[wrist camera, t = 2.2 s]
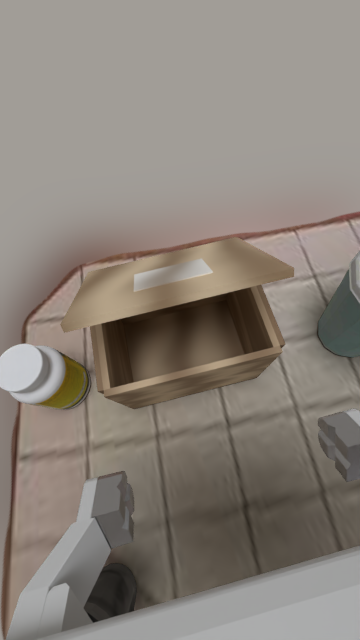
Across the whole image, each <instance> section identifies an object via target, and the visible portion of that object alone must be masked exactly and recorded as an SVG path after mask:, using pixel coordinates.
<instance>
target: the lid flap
mask: <svg viewBox="0 0 360 640" xmlns="http://www.w3.org/2000/svg"><path fill="white" fill-rule="evenodd" d="M290 277H294V268H293V267H291V266H289V265H288V264H286V263H284V262H282V261H280V260H278V259H276V258H275V257H273V256H271V255H269V254H267V253H265V252H263V251H262V250H260V249H258V248H256V247H254V246H252V245H251V244H249V243H247V242H245V241H243V240H241V239H239V238H238V237H234V238H230V239H226V240H222V241H217V242H213V243H209V244H205V245H201V246H196V247H192V248H188V249H184V250H180V251H175V252H171V253H167V254H163V255H158V256H154V257H150V258H146V259H142V260H137V261H133V262H129V263H125V264H121V265H116V266H112V267H108V268H104V269H99V270H95V271H91V272H88V274H87V276H86V278H85V280H84V282H83V284H82V285H81V287H80V289H79V291H78V293H77V295H76V297H75V298H74V300H73V302H72V304H71V306H70V308H69V310H68V312H67V313H66V315H65V317H64V319H63V321H62V323H61V327H62V329H63V331H64V333H65V332H69V331H73V330H77V329H81V328H85V327H89V326H93V325H97V324H101V323H106V322H110V321H114V320H118V319H122V318H126V317H130V316H134V315H138V314H142V313H147V312H151V311H155V310H159V309H163V308H167V307H171V306H175V305H179V304H183V303H187V302H192V301H196V300H200V299H204V298H208V297H212V296H216V295H220V294H224V293H228V292H233V291H237V290H241V289H245V288H249V287H253V286H257V285H261V284H265V283H269V282H274V281H278V280H282V279H286V278H290Z"/></svg>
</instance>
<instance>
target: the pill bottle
mask: <svg viewBox="0 0 360 640" xmlns="http://www.w3.org/2000/svg"><path fill="white" fill-rule="evenodd" d="M0 387H1V388H2V389H4V390H6V391H9V392H10V394H11V395H12V396H13V397H14V398H15V399H16V400H18V401H20V402H23V403H26V404H31V405H36V406H42V407H47V408H53V409H60V410H66V409H71V408H73V407H75V406H77V405H78V404H80V403H81V402H82V401H83V400H84V399H85V397H86V396H87V394H88V391H89V388H90V376H89V373H88V371H87V370H86V369H85V367H83V366H82V365H81V364H79V363H78V362H76V361H74V360H73V359H71V358H69V357H68V356H66V355H64V354H62V353H61V352H59V351H57V350H55V349H54V348H51V347H48V346H33V345H30V344H19V345H16V346H14V347H11V348H10V349H8V350H7V351H5V352H4V353H3V355H2V356H1V357H0Z"/></svg>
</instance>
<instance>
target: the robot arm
mask: <svg viewBox="0 0 360 640" xmlns="http://www.w3.org/2000/svg"><path fill="white" fill-rule="evenodd" d="M318 426H319V427H320V428H321V430H320V432H319V433H318V439H319V443H320V445H321V448H322V450H323V451H324V453H325V454H326V456H327V457H328V458H330V459H332V460H334V461H335V467H336V469H337V470H338V471H339V473H340V474H341V475H342V476H343V478H344V479H345V480H346V482H348V481H352V480H357V479H360V411H358V410H357V409H355V408H353V409H350V410H346V411H343V412H338V413H335V414H331V415H328V416H324V417H321V418H319V419H318ZM133 512H134V496H133V491H132V488H131V485H130V484H128V483H127V475H126V473H125V471H121V472H116V473H112V474H108V475H104V476H100V477H96V478H92V479H88V480H86V482H85V484H84V487H83V492H82V496H81V501H80V506H79V510H78V515H77V520H76V523H72V524H71V526H70V527H69V528H68V530H67V531H66V533H65V534H64V535H63V537H62V538H61V539H60V541H59V542H58V543H57V545H56V546H55V548H54V549H53V550H52V552H51V553H50V554H49V556H48V557H47V559H46V560H45V561H44V563H43V564H42V565H41V567H40V568H39V569H38V571H37V572H36V574H35V575H34V576H33V578H32V579H31V580H30V582H29V583H28V584H27V586H26V587H25V589H24V590H23V591H22V593H21V594H20V597H19V600H18V603H17V606H16V609H15V612H14V616H13V619H12V622H11V625H10V628H9V631H8V634H7V637H6V640H360V545H359V546H356V547H352V548H349V549H345V550H342V551H338V552H335V553H332V554H328V555H325V556H321V557H318V558H314V559H311V560H307V561H304V562H301V563H297V564H294V565H290V566H287V567H283V568H280V569H276V570H273V571H270V572H266V573H263V574H259V575H256V576H253V577H249V578H246V579H242V580H239V581H235V582H232V583H229V584H225V585H222V586H218V587H215V588H211V589H208V590H205V591H201V592H198V593H194V594H191V595H187V596H184V597H180V598H177V599H174V600H170V601H167V602H163V603H160V604H156V605H153V606H150V607H146V608H143V609H139V610H136V611H132V612H129V613H125V614H122V615H119V616H115V617H112V618H108V619H105V620H101V621H98V622H95V623H93V622H92V621H91V619H90V617H89V616H88V614H87V613H86V611H85V610H84V606H85V604H86V601H87V599H88V597H89V595H90V593H91V591H92V589H93V587H94V585H95V583H96V581H97V579H98V577H99V575H100V572H101V570H102V568H103V566H104V564H105V562H106V560H107V558H108V556H109V554H110V552H111V548H115V547H118V546H121V545H124V544H127V543H131V542H133V537H134V522H133V519H132V517H131V515H132V514H133Z"/></svg>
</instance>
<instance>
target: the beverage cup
mask: <svg viewBox="0 0 360 640" xmlns="http://www.w3.org/2000/svg"><path fill="white" fill-rule="evenodd" d="M136 592H137V591H136V582H135V579H134V576H133V574H132V573H131V571H130V570H129V569H128V568H127V567H126V566H124V565H122V564H118V563H115V564H110V565H108V566H106V567H105V568H103V569H102V571H101V572H100V575H99V577H98V579H97V581H96V583H95V585H94V587H93V589H92V591H91V593H90V595H89V597H88V599H87V601H86V604H85V606H84V610H85V611H86V613H87V614H88V616H89V617H90V619H91V621H92V622H93V623H95V622H98V621H101V620H105V619H108V618H112V617H115V616H119V615H122V614H125V613H129V612H132V611H134V605H135V598H136Z"/></svg>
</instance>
